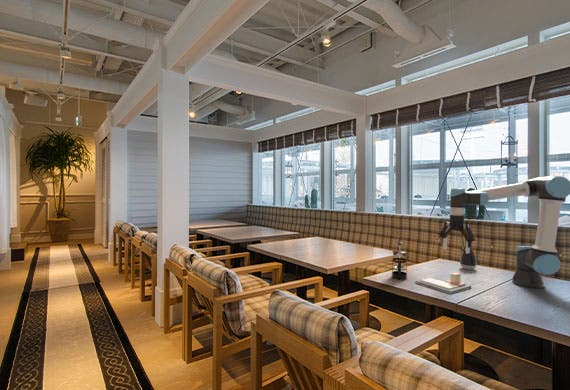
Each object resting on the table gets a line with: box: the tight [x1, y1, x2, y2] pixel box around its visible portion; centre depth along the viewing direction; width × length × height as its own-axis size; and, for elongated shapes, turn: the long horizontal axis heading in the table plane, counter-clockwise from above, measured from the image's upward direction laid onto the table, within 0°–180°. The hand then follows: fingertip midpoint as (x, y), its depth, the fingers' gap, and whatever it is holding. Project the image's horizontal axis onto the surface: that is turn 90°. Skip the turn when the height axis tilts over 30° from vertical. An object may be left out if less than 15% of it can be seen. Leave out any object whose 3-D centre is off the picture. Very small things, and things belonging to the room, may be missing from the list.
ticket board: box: [415, 275, 472, 295], centre depth 190 cm, size 22×20×2 cm
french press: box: [391, 241, 408, 281], centre depth 206 cm, size 12×9×23 cm
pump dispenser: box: [459, 247, 478, 271], centre depth 228 cm, size 10×10×15 cm
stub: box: [445, 272, 467, 286], centre depth 189 cm, size 9×6×6 cm, turn 31°
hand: (456, 251), depth 188 cm, fingers open, 13 cm apart
